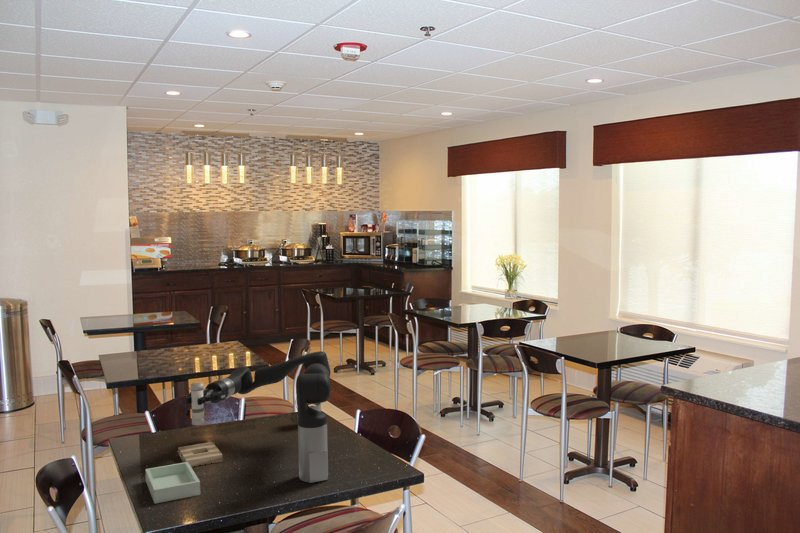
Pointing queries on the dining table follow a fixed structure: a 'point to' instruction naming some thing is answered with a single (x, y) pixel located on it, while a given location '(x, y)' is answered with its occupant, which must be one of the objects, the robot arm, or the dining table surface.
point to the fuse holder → (200, 454)
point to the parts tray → (172, 482)
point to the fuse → (197, 409)
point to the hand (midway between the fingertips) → (192, 401)
